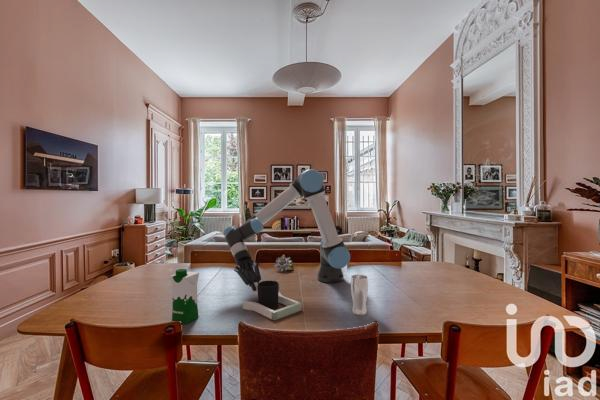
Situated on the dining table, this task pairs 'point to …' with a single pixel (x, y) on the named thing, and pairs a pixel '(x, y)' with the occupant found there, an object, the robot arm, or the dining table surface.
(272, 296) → the pen holder
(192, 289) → the milk carton
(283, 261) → the grey spiky ball
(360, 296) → the beer glass
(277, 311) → the bay
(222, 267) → the dining table surface
